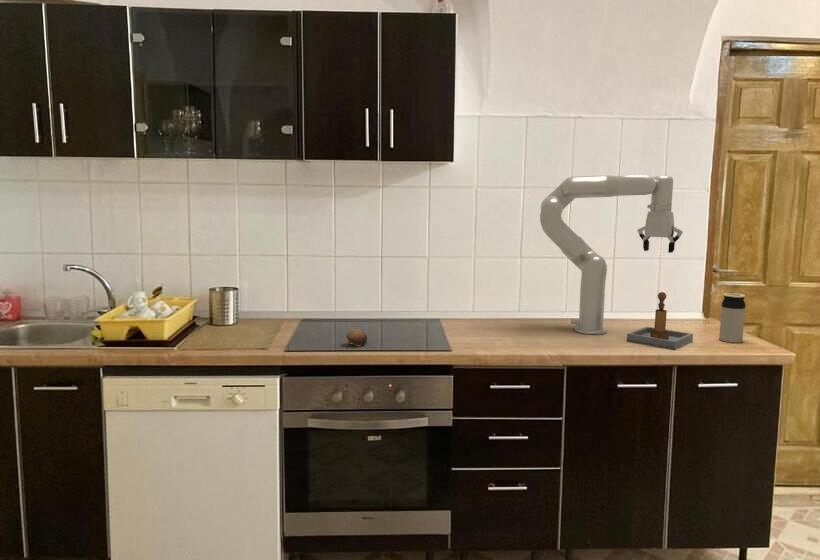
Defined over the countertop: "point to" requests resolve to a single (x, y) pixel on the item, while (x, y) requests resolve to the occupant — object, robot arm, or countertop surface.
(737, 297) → the travel mug
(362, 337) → the mushroom
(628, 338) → the tray
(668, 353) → the countertop surface
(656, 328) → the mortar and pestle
